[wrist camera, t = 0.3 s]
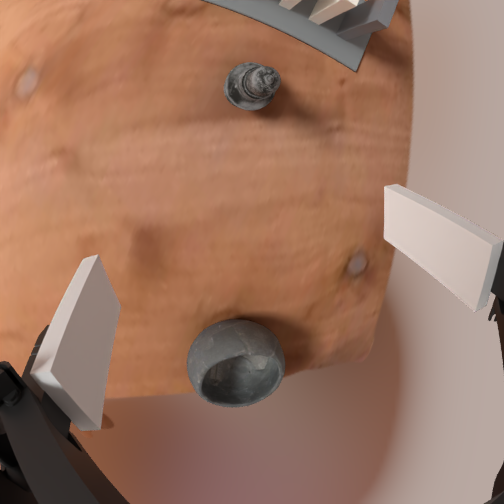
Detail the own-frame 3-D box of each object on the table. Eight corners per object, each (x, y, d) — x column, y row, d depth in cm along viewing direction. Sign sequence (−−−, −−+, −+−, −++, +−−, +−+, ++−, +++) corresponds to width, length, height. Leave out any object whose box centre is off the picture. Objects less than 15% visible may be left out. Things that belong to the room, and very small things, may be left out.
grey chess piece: (275, 78, 34) (312, 66, 24) (256, 117, 36) (287, 120, 26) (233, 59, 32) (254, 37, 22) (213, 100, 34) (226, 93, 23)
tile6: (336, 34, 32) (377, 19, 23) (347, 10, 31) (388, -9, 22) (345, 40, 33) (388, 27, 24) (356, 15, 31) (398, -1, 22)
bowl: (190, 299, 45) (195, 344, 37) (282, 307, 50) (303, 347, 41) (181, 367, 51) (184, 411, 42) (260, 369, 55) (273, 410, 47)
